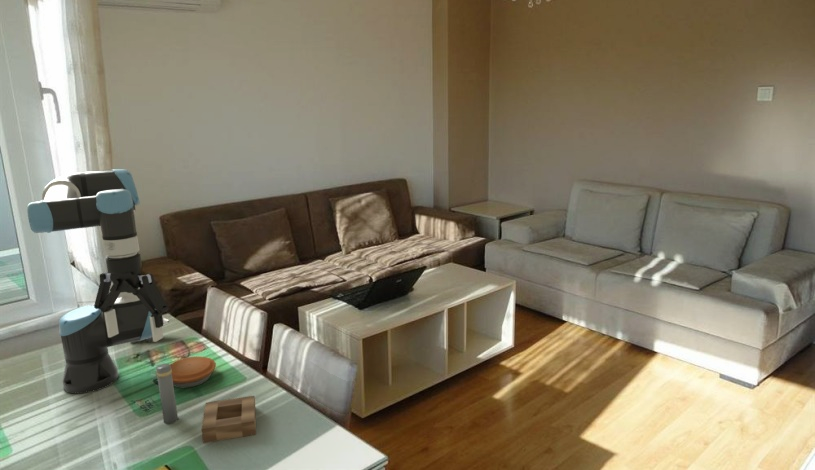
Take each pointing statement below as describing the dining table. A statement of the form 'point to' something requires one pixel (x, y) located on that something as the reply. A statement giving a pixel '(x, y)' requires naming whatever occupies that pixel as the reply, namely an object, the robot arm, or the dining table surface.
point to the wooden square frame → (229, 419)
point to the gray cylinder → (167, 393)
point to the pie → (192, 371)
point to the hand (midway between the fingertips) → (135, 337)
